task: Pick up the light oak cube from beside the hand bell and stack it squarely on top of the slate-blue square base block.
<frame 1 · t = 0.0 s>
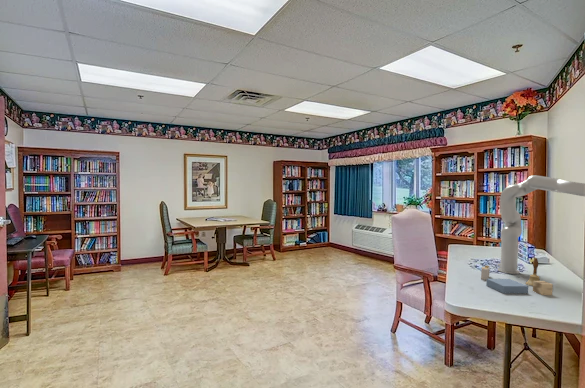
model: (485, 278, 206), on the table
oak cube: (542, 293, 178), on the table
slate base: (506, 289, 183), on the table
hand bell: (534, 285, 193), on the table
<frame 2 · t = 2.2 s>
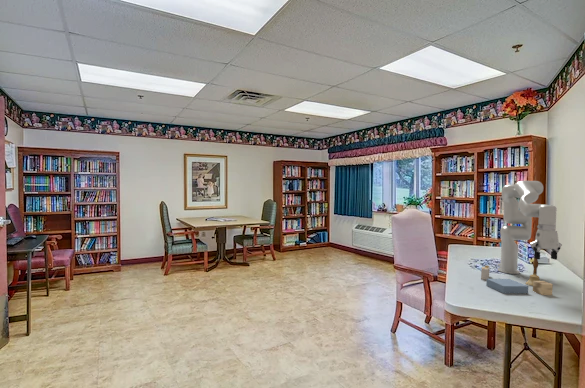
hand: (545, 259, 177), 19 cm above the table, tool pointing down, fingers open, 9 cm apart
nothing on the table moved.
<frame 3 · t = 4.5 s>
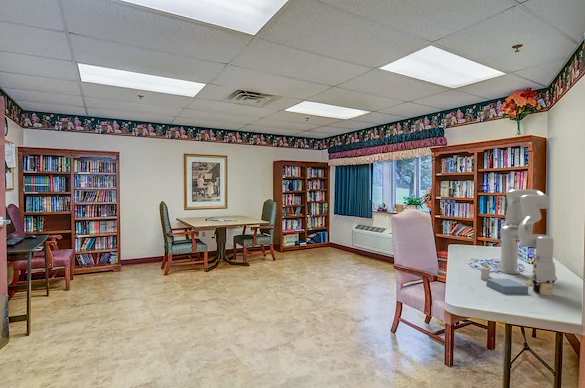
hand: (542, 291, 178), 1 cm above the table, tool pointing down, fingers closed on oak cube, 6 cm apart
oak cube: (542, 293, 178), on the table, touching gripper
everything else where it was.
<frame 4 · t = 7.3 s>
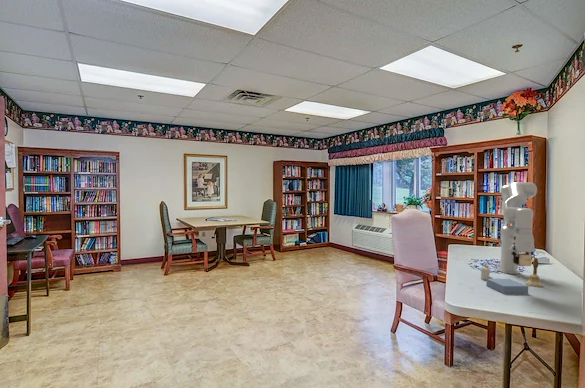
hand: (521, 263, 180), 16 cm above the table, tool pointing down, fingers closed on oak cube, 6 cm apart
oak cube: (521, 264, 180), point 15 cm above the table, touching gripper
everything else where it was.
when the fingers open (6 cm above the table, at t = 10.0 s): oak cube drops 1 cm, resting on slate base.
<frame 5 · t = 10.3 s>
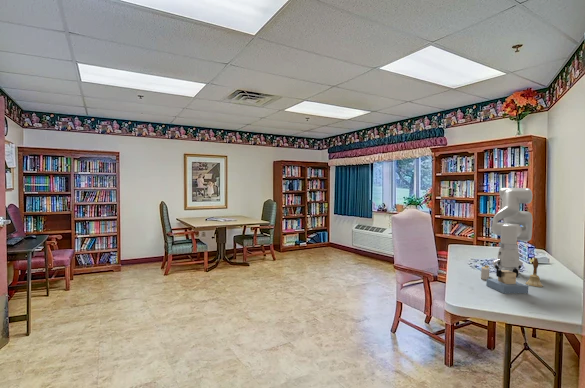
hand: (507, 276, 182), 7 cm above the table, tool pointing down, fingers open, 9 cm apart
oak cube: (506, 282, 183), point 4 cm above the table, touching slate base
everything else where it was.
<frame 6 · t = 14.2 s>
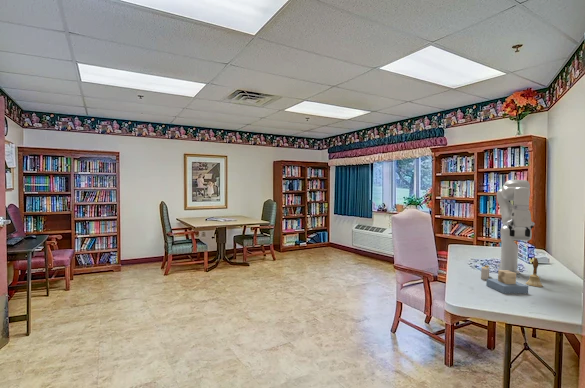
hand: (519, 236, 195), 28 cm above the table, tool pointing down, fingers open, 9 cm apart
nothing on the table moved.
at the end: oak cube inside the target area on the slate base (0.0 cm from its centre), point 4.0 cm above the slate base's base; oak cube tilted 0°; the gripper is holding nothing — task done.
